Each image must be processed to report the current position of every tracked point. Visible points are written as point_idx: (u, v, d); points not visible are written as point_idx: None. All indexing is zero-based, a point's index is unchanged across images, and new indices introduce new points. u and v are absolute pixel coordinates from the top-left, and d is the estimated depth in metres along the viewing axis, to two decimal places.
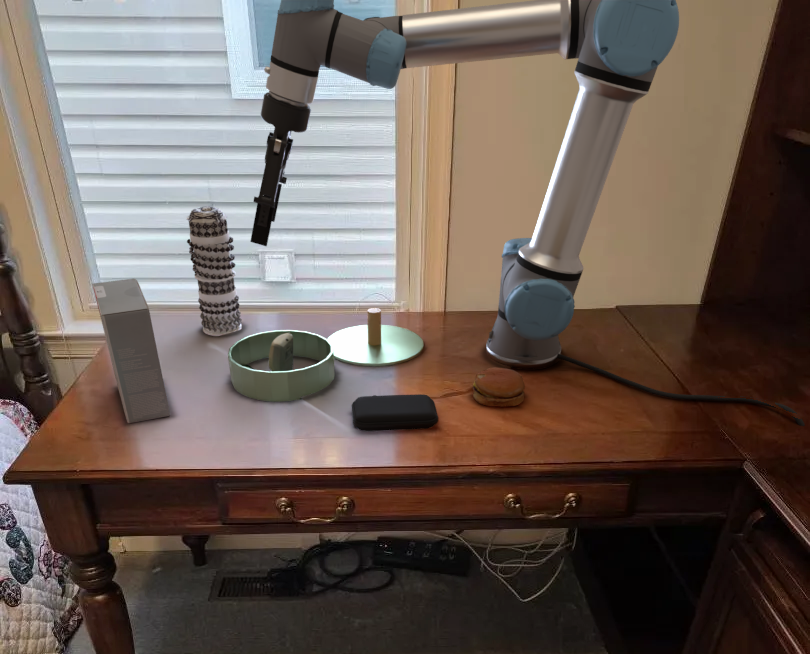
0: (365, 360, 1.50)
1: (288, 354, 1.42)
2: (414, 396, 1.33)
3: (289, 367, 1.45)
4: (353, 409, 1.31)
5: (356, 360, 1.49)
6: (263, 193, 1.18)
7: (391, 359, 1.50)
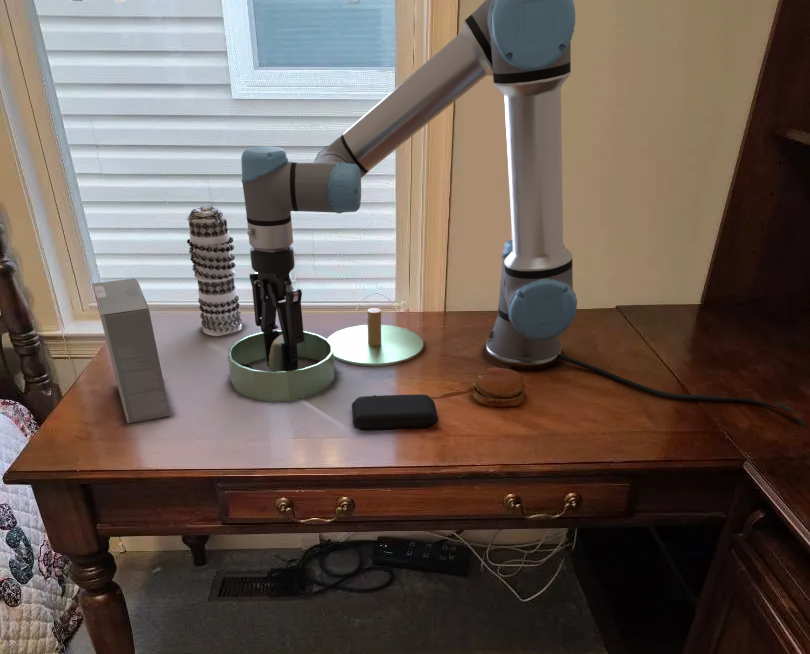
0: (365, 360, 1.50)
1: None
2: (414, 396, 1.33)
3: None
4: (353, 409, 1.31)
5: (356, 360, 1.49)
6: (295, 337, 1.35)
7: (391, 359, 1.50)
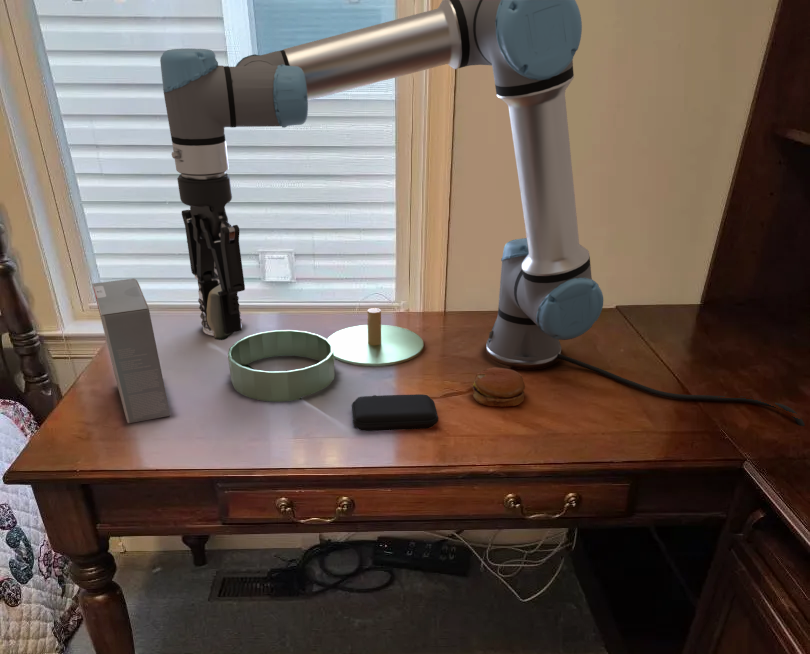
0: (365, 360, 1.50)
1: None
2: (414, 396, 1.33)
3: None
4: (353, 409, 1.31)
5: (356, 360, 1.49)
6: (233, 284, 1.14)
7: (391, 359, 1.50)
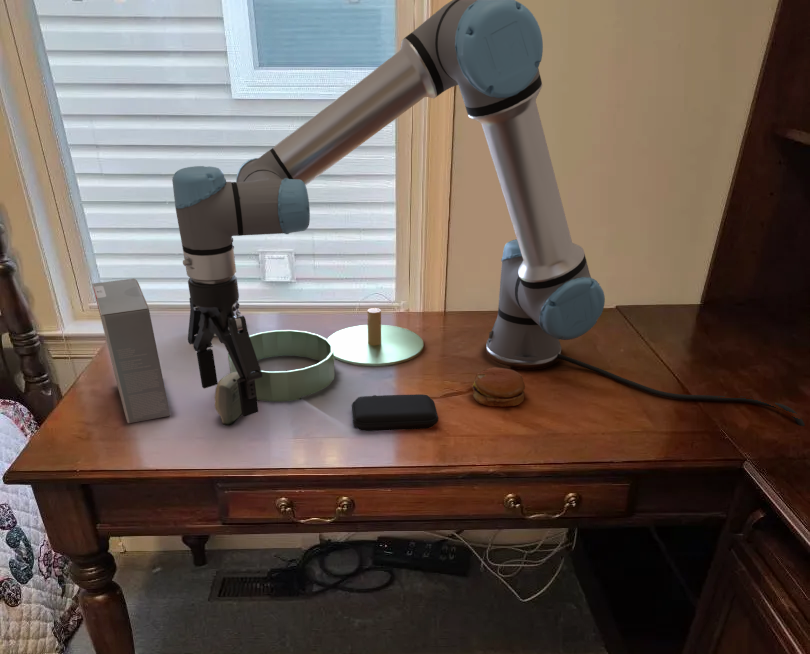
0: (365, 360, 1.50)
1: (236, 396, 1.29)
2: (414, 396, 1.33)
3: (238, 409, 1.31)
4: (353, 409, 1.31)
5: (356, 360, 1.49)
6: (250, 371, 1.18)
7: (391, 359, 1.50)
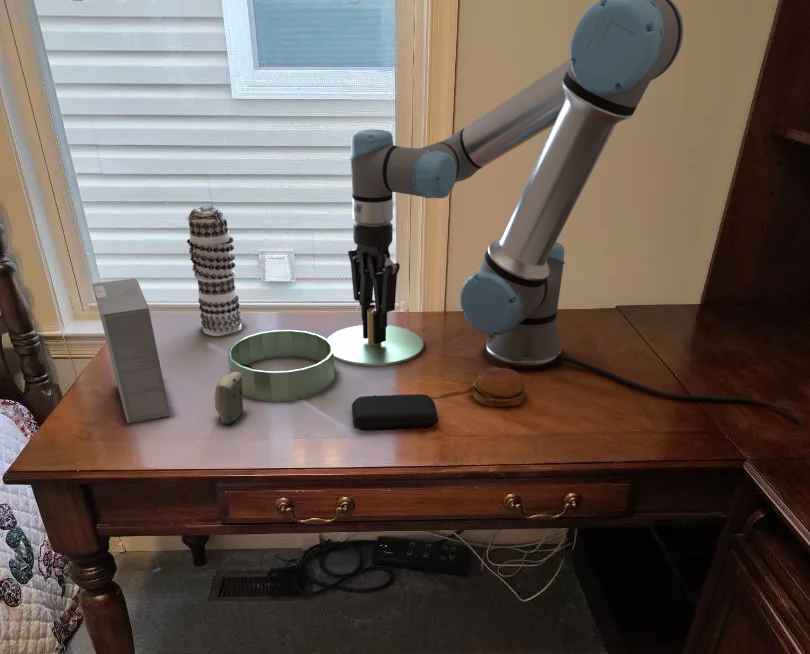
0: (365, 360, 1.49)
1: (236, 396, 1.29)
2: (414, 396, 1.33)
3: (238, 409, 1.31)
4: (353, 409, 1.31)
5: (356, 360, 1.49)
6: (387, 306, 1.48)
7: (391, 359, 1.50)
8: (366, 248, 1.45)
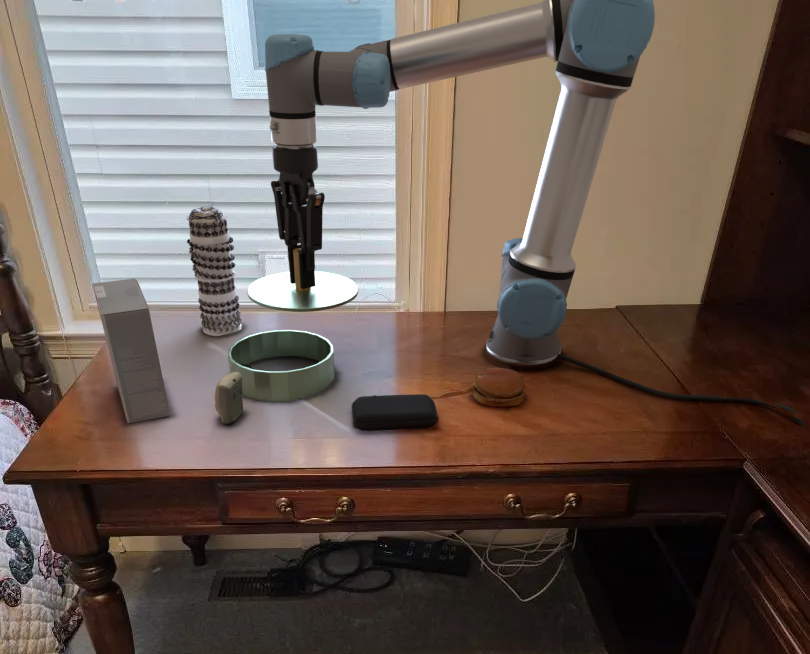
0: (288, 305, 1.32)
1: (236, 396, 1.29)
2: (414, 396, 1.33)
3: (238, 409, 1.31)
4: (353, 409, 1.31)
5: (278, 305, 1.32)
6: (313, 244, 1.30)
7: (318, 304, 1.33)
8: (288, 176, 1.28)
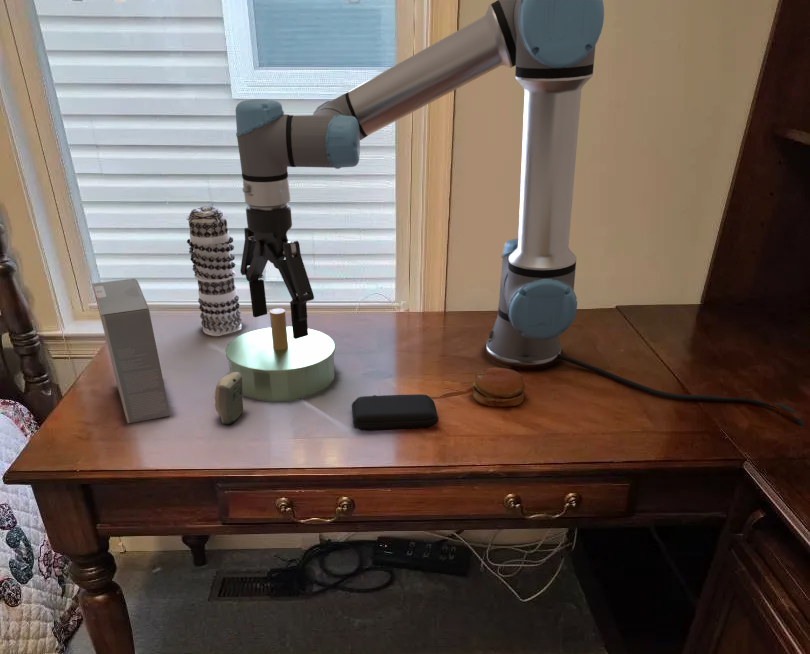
0: (265, 366, 1.34)
1: (236, 396, 1.29)
2: (414, 396, 1.33)
3: (238, 409, 1.31)
4: (353, 409, 1.31)
5: (255, 366, 1.34)
6: (303, 292, 1.28)
7: (294, 365, 1.35)
8: (264, 243, 1.30)
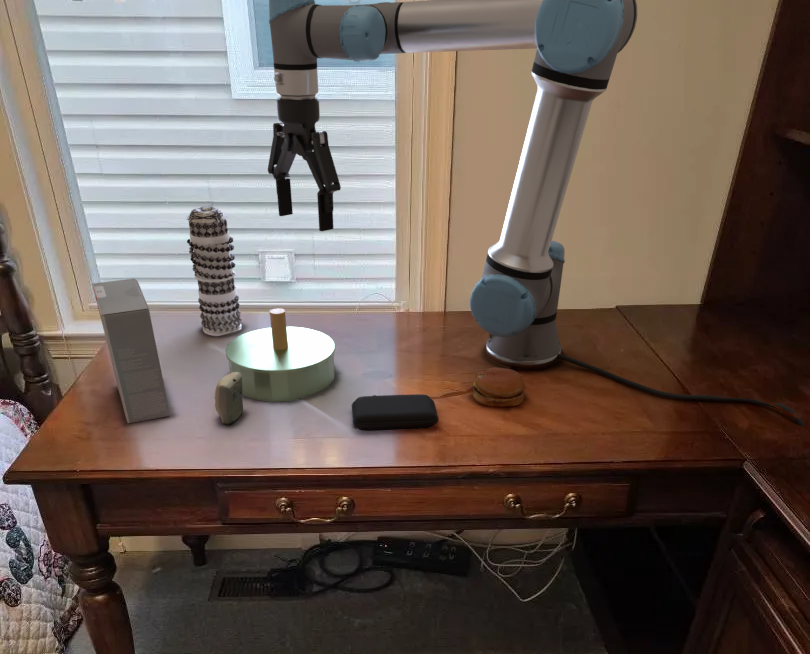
0: (265, 366, 1.34)
1: (236, 396, 1.29)
2: (414, 396, 1.33)
3: (238, 409, 1.31)
4: (353, 409, 1.31)
5: (255, 366, 1.34)
6: (330, 182, 1.33)
7: (294, 365, 1.35)
8: (293, 136, 1.35)
